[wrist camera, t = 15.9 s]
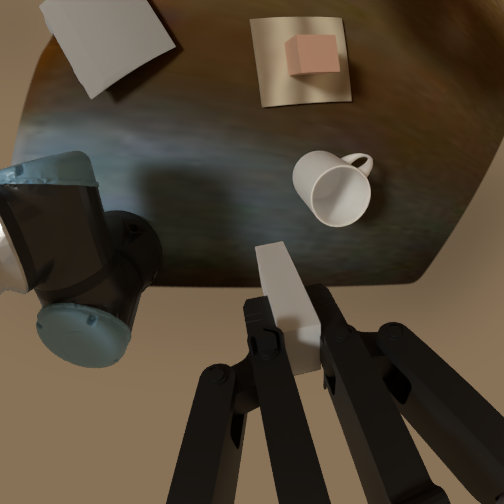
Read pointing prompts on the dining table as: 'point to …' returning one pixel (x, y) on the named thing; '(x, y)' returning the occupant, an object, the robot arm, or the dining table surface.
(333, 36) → the pink rectangular block
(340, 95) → the board
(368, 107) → the dining table surface
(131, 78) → the dining table surface
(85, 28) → the book
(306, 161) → the mug
